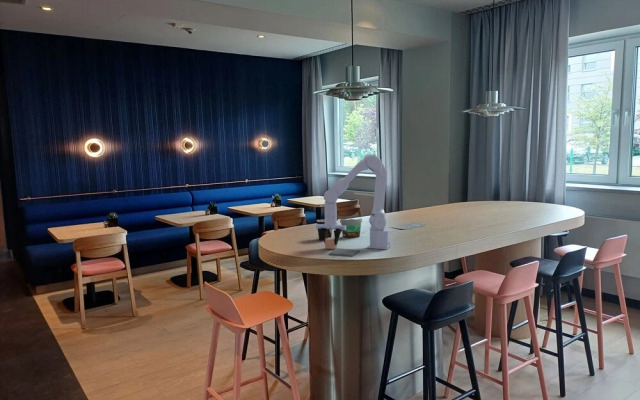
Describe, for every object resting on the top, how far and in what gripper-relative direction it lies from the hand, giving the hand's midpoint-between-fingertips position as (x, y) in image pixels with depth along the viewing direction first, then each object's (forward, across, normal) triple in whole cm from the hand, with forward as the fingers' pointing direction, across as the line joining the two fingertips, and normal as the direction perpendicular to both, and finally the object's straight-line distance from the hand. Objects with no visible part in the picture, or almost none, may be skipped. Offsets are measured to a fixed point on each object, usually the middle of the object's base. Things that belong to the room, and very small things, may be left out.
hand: (331, 244), depth 222 cm
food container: (+2, +1, +31) cm, 31 cm away
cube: (+2, 0, 0) cm, 2 cm away
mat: (+2, +9, -7) cm, 12 cm away
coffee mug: (+2, -10, +22) cm, 24 cm away
